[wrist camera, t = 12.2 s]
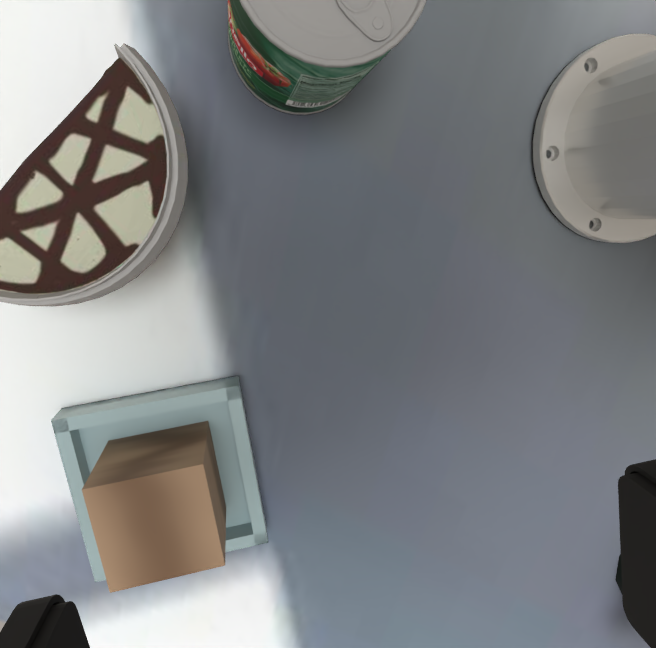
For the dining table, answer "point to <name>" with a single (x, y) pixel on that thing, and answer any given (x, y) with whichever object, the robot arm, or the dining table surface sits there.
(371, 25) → the canned tomato
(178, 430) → the cube
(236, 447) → the tray
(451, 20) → the dining table surface
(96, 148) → the food container
